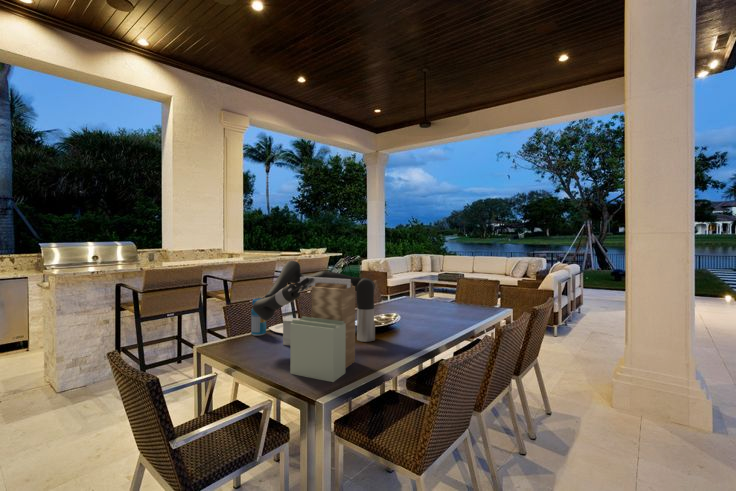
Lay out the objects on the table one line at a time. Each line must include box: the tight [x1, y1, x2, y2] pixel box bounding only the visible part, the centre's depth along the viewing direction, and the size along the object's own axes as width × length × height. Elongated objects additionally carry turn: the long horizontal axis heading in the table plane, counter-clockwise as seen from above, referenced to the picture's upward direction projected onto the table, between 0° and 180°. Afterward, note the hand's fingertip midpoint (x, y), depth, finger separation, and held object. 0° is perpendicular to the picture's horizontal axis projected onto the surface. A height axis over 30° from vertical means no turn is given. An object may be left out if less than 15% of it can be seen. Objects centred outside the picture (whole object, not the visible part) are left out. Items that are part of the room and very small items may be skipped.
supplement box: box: [282, 317, 302, 346], centre depth 185 cm, size 7×7×13 cm
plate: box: [268, 322, 283, 335], centre depth 213 cm, size 27×27×2 cm
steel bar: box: [300, 276, 351, 288], centre depth 157 cm, size 24×4×4 cm, turn 65°
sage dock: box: [289, 315, 346, 383], centre depth 145 cm, size 20×10×22 cm, turn 65°
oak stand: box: [311, 283, 356, 369], centre depth 156 cm, size 15×12×36 cm
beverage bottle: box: [250, 297, 267, 337], centre depth 203 cm, size 8×8×20 cm
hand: (313, 278), depth 160 cm, fingers open, 7 cm apart
